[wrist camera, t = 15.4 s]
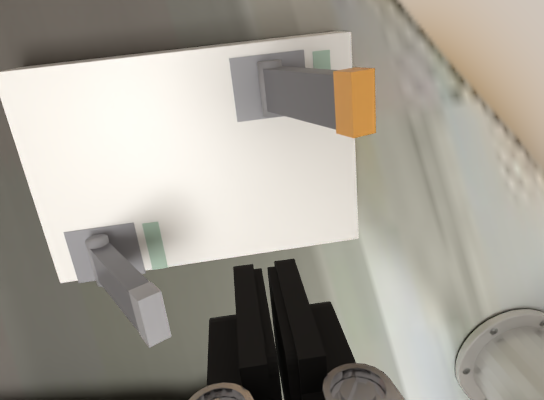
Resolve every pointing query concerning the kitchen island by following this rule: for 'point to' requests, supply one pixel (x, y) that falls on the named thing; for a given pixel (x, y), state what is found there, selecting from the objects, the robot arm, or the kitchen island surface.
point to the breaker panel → (180, 155)
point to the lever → (129, 290)
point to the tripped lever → (320, 96)
